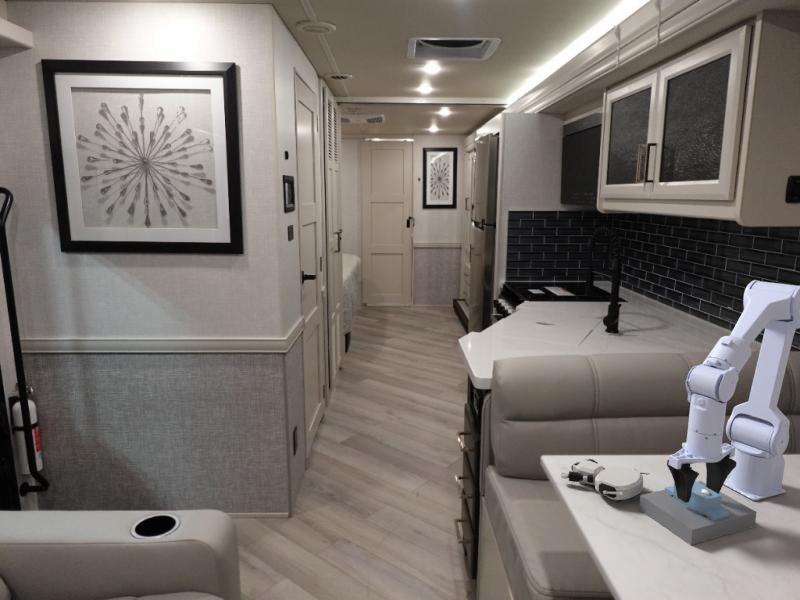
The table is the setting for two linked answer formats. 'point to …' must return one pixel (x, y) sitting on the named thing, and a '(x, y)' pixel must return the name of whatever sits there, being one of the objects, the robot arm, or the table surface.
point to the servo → (703, 501)
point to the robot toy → (607, 479)
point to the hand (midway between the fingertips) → (697, 495)
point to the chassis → (696, 517)
